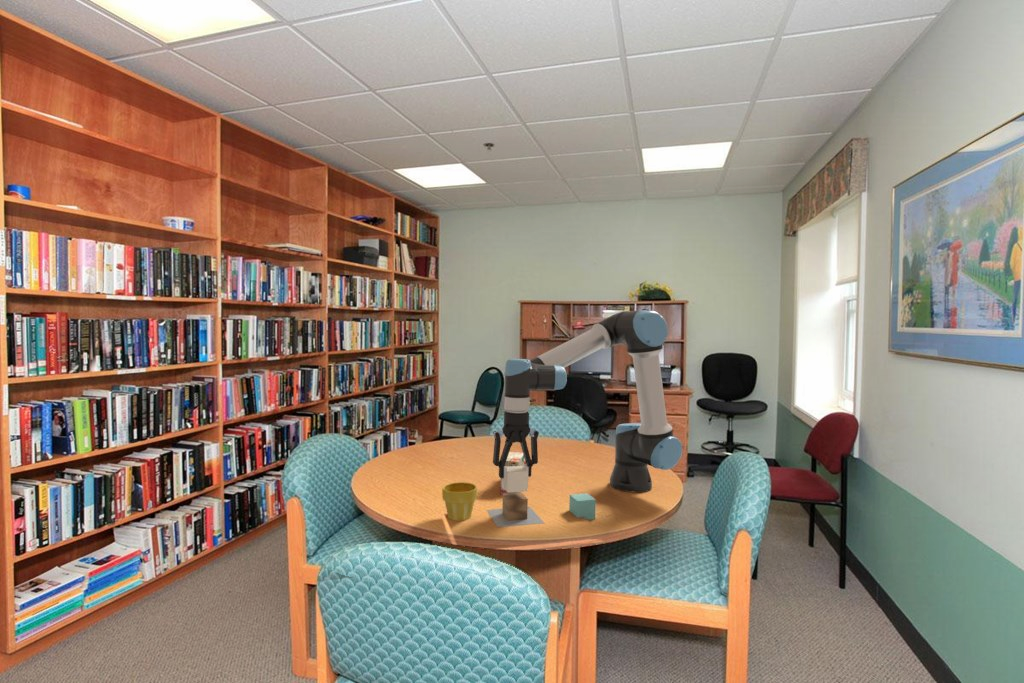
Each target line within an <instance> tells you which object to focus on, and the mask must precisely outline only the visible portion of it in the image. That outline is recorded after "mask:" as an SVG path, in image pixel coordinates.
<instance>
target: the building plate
mask: <svg viewBox="0 0 1024 683" xmlns="http://www.w3.org/2000/svg"><path fill="white" fill-rule="evenodd" d="M486 512H487V513H488V515H489V516H490V518H491V519H492V521H493V523H494V524H495V525H496V527H497V528H508V527H516V526H517V527H518V526H527V525H528V526H529V525H538V524H539V525H540V524H545V521H544V520H542V518H541V517H540V516H539V515H538V514H537V512H536V511H534V509H533V508H532V507H531V506H528V508H527V519H523V520H511V521H507V519H506V518H505V516H504V515H503V514H502V508H494V509H486Z"/></svg>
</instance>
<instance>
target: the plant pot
mask: <svg viewBox="0 0 1024 683" xmlns="http://www.w3.org/2000/svg"><path fill="white" fill-rule="evenodd" d="M441 491H442V493H441V494H442V500H443V501H444V504H445V508H446V513H447V517H448V519H450V520H452V521H461V522H462V521H467V520H469V519H471V518H472V515H473V512H474V510H473V509H474V505H475V501H476V500H477V498H478V487H477V485H476V484H475V483H471V482H467V481H465V482H464V481H463V482H462V481H458V482H457V481H456V482H449V483H447V484H445V485H443V486H442V489H441Z"/></svg>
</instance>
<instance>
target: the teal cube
mask: <svg viewBox="0 0 1024 683" xmlns="http://www.w3.org/2000/svg"><path fill="white" fill-rule="evenodd" d="M596 501H597V500H596V498H594V497H593V496H592V495H590V494H589V493H588V492H587V493H586V492H585V493H575V494H573V493H572V494H569V502H568V503H569V508H568V509H569V511H568V512H570V513H571V514H572V515H574V517H575V518H584V519H585V520H587V521H589V519H590V520H595V519H596V512H597V511H596V510H597V509H596V506H597V505H596Z"/></svg>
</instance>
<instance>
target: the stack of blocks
mask: <svg viewBox="0 0 1024 683" xmlns="http://www.w3.org/2000/svg"><path fill="white" fill-rule="evenodd" d="M523 465H526V461H525V458H524V454H523V452H516V451H509V454H508V457H507V460H506V463H505V467H508V466H523ZM499 490H500V492H499V493H500V494H499V495H500V496H503V494H508V493H507V491H506V490H503V489H502V478H500V489H499ZM512 493H521V492H512Z"/></svg>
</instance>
